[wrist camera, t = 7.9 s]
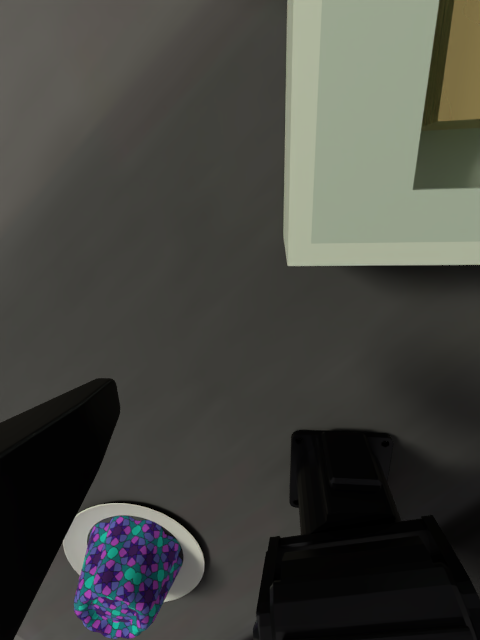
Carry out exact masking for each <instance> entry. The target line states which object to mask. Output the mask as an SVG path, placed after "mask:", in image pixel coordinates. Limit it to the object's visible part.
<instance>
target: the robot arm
mask: <svg viewBox="0 0 480 640" xmlns="http://www.w3.org/2000/svg"><path fill="white" fill-rule="evenodd" d="M119 414H120V403H119V397H118V392H117V386H116V383H115V381H114V380H113V379H110V378H98V379H95V380H93V381H90V382H88V383H86V384H84V385H82V386H80V387H77V388H75V389H73V390H71V391H69V392H66V393H64V394H62V395H60V396H58V397H56V398H53V399H51V400H49V401H47V402H45V403H43V404H40V405H38V406H36V407H34V408H32V409H29V410H27V411H25V412H23V413H21V414H19V415H16V416H14V417H12V418H10V419H8V420H6V421H3V422H1V423H0V640H14V637H15V635H16V634H17V632H18V630H19V628H20V626H21V624H22V622H23V620H24V618H25V616H26V614H27V612H28V610H29V608H30V606H31V604H32V602H33V600H34V598H35V596H36V594H37V592H38V590H39V588H40V586H41V584H42V582H43V580H44V578H45V576H46V574H47V572H48V570H49V568H50V566H51V564H52V562H53V560H54V558H55V556H56V554H57V552H58V550H59V548H60V546H61V544H62V542H63V540H64V538H65V536H66V534H67V532H68V530H69V528H70V526H71V524H72V522H73V520H74V518H75V516H76V514H77V512H78V510H79V508H80V506H81V504H82V502H83V500H84V498H85V496H86V494H87V492H88V490H89V488H90V486H91V485H92V483H93V481H94V479H95V476H96V474H97V472H98V470H99V468H100V465H101V463H102V461H103V458H104V455H105V453H106V450H107V447H108V445H109V442H110V439H111V436H112V434H113V431H114V428H115V426H116V423H117V420H118V418H119ZM297 438H302V439H300V440H298V439H297ZM383 441H387V442H385V443H382V442H383ZM392 449H393V441H392V438H391V437H390V435H388V434H382V433H353V432H325V431H295V432H293V434H292V436H291V464H290V497H289V498H290V504H291V506H293V507H296V508H299V514H300V527H301V535H298V536H291V537H283V538H280V536H276V537H270V540H269V546H268V551H267V552H266V556H265V562H264V568H263V574H262V580H261V586H260V592H259V598H258V604H257V611H256V616H257V619H256V622H255V625H254V628H253V638H254V640H480V599H479V597H478V595H477V592H476V590H475V588H474V586H473V584H472V582H471V580H470V578H469V576H468V575H467V573H466V571H465V569H464V568H463V566H462V564H461V563H460V561H459V559H458V558H457V556H456V554H455V552H454V551H453V549H452V547H451V546H450V544H449V542H448V541H447V539H446V537H445V536H444V534H443V532H442V530H441V529H440V527H439V525H438V524H437V522H436V520H435V519H434V517H433V515H430V516H423V517H421V518H422V519H416V520H409V521H401V519H400V516H399V513H398V511H397V508H396V505H395V502H394V500H393V497H392V494H391V491H390V489H389V486H388V483H387V480H388V474H389V468H390V462H391V455H392Z"/></svg>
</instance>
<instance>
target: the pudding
mask: <svg viewBox="0 0 480 640" xmlns="http://www.w3.org/2000/svg"><path fill="white" fill-rule="evenodd" d="M118 515H131V516H138V517H142V518H145V519H148V520H151V521H148V520H142V521H136V520H134V519H133V518H131V517H129V516H118ZM111 516H117V517H113V518H112V520H111V521H110V522H109V523H98V524H97V525H95V524H96V523H97V522H99V521H101V520H103V519H105V518H108V517H111ZM152 521H153V522H152ZM155 522H156V523H157V524H156V523H155ZM158 524H159V525H161V526H163V527H164V528H165V529H167V530H168V531H169V532H170V533H171V534H172V535H173V536H174V537H175V538H176V539H177V540H178V541H177V540H176V539H175V538H174V537H171V536H169V535H166V534H165V533H164V531H163V529H162V527H161V526H159V525H158ZM94 525H95V526H94ZM93 526H94V527H93ZM92 527H93V529H92V531H91V535H90V539H89V542H88V546H87V536H88V533H89V531H90V529H91V528H92ZM179 543H180V544H179ZM180 545H181V548H182V551H183V555H184V556H183V564H182V560H181V558H180V557H179V556H178V554H179V552H180V550H181V548H180ZM63 546H64V551H65V554H66V556H67V559H68V561H69V562H70V564H71V565H72V567H73V568H74V569H75V571H76V572H77V573H78V574H79V575H80V578H79V582H78V586H77V590H76V594H75V598H74V612H75V614H76V615H77V617H78V618H79V619H81V620H82V621H83V624H84V626H85V627H86V628H87V629H89V630H91V631H93V632H99V633H101V634H102V635H103V636H105V637H108V638H113V639H117V638H119V637H123V638H127V639H129V638H134V637H136V636H138V635H140V633H141V632H142V631H144V630H146V629H147V628H148V627H149V626H150V625H151V624H152V623H153V621H154V620H155V618H156V616H157V614H158V612H159V610H160V608H161V606H162V604H163V602H167V601H171V600H175V599H177V598H180V597H183V596H184V595H186V594H188V593H189V592H191V591H192V590H193V589H194V588H195V587H196V586H197V585H198V583H199V582H200V580H201V579H202V576H203V573H204V564H205V562H204V557H203V553H202V551H201V548H200V546H199V544H198V543H197V541H196V540H195V538H194V537H193V536H192V535H191V534H190V533H189V532H188V531H187V530H186V529H185V528H184V527H183V526H182V525H180V524H179V523H178V522H176V521H175V520H173V519H172V518H170V517H168V516H166V515H165V514H163V513H160V512H158V511H155V510H153V509H150V508H146V507H143V506H139V505H133V504H126V503H108V504H101V505H97V506H94V507H90V508H87V509H86V510H84V511H82V512H80V513H78V514H77V515H76V516H75V518H74V520H73V522H72V524H71V526H70V528H69V530H68V532H67V534H66V536H65V538H64V540H63Z"/></svg>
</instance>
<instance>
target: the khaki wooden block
mask: <svg viewBox="0 0 480 640" xmlns="http://www.w3.org/2000/svg"><path fill="white" fill-rule="evenodd" d="M466 128H480V0H439V6H438V13H437V20H436V27H435V34H434V41H433V49H432V56H431V63H430V70H429V77H428V84H427V91H426V98H425V105H424V112H423V119H422V127H421V131H431V130H448V129H466Z"/></svg>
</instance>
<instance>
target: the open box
mask: <svg viewBox="0 0 480 640" xmlns="http://www.w3.org/2000/svg"><path fill="white" fill-rule="evenodd" d="M438 6H439V0H287V49H286V109H285V170H284V230H283V237H284V244H285V250H286V257H287V264H288V266H368V265H480V128H466V129H448V130H431V131H421V127H422V119H423V112H424V105H425V98H426V91H427V84H428V77H429V70H430V63H431V56H432V49H433V41H434V34H435V27H436V20H437V13H438Z"/></svg>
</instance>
